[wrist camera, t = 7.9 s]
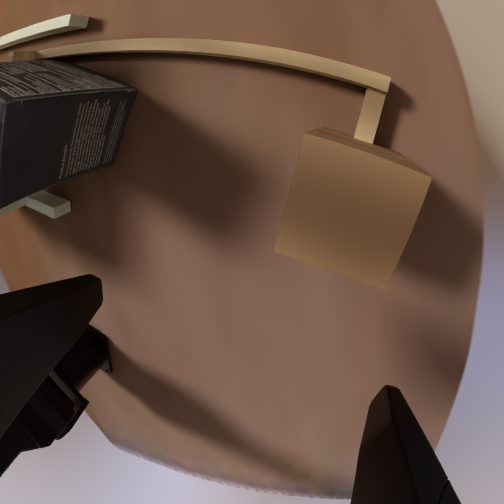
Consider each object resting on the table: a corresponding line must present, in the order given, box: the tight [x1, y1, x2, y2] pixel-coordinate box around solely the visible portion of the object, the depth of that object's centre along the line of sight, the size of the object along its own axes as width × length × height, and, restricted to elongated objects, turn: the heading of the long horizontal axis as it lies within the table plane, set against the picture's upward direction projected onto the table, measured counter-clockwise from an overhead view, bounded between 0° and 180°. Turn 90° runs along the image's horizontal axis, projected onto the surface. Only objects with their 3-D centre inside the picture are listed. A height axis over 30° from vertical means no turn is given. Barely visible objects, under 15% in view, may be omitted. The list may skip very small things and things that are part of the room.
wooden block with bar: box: [7, 38, 432, 290], centre depth 15 cm, size 12×29×7 cm, turn 78°
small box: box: [0, 59, 136, 209], centre depth 15 cm, size 11×6×10 cm, turn 64°
